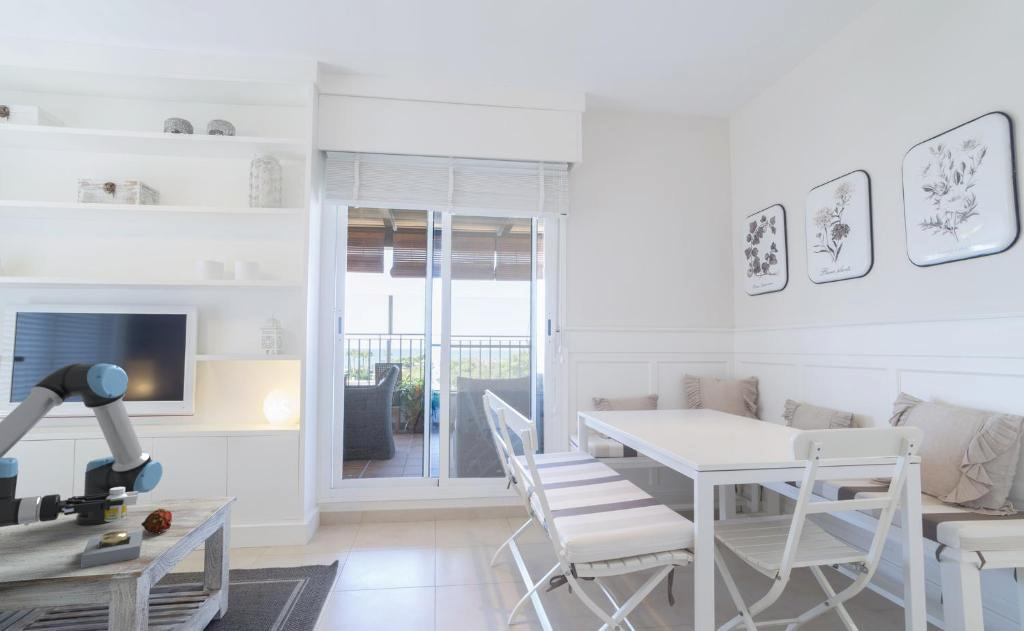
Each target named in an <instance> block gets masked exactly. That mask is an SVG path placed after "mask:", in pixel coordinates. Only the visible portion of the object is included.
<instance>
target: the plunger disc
mask: <svg viewBox="0 0 1024 631" xmlns="http://www.w3.org/2000/svg"><path fill="white" fill-rule="evenodd" d="M127 533H128V531H125V530H118V531H117V530H116V531H111V532H108V533H105V534H103V535H102V536H101V537H102V541H101V545H102V546H114V545H119V544H122V543H124V542H126V541H127Z"/></svg>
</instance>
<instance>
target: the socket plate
mask: <svg viewBox="0 0 1024 631" xmlns="http://www.w3.org/2000/svg"><path fill="white" fill-rule="evenodd" d="M143 533H144V532H143V530H141V531H132V532H127V541H126V542H124V543H122V544H119V545H114V546H102V545H101V541H102V536H99V537H93V538H89V539H88V541H87V543H86V545H85V548H84V549H83V551H82V554H81V559H80V560H81V561H80V569H81V568H82V567H83V568H87V567H93V566H98V565H99V566H100V565H103V564H104V565H105V564H111V563H116V562H121V561H129V560H134V559H140V556H141V548H142V545H143V544H142V543H143ZM83 568H82V569H83Z"/></svg>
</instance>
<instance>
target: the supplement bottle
mask: <svg viewBox="0 0 1024 631" xmlns="http://www.w3.org/2000/svg"><path fill="white" fill-rule="evenodd" d="M124 493H125V487H115V488H111V489H110V491H109V494H110V495H109V496H108V497H107V498H106V500H107V499H110V501H111V498H118V497H126V496H127V495H126V494H124ZM126 508H127V506H120V507H111V508H110V510H109V511H106V510H105V521H107V523H112V522H117V521H118V522H119V521H122V520H124V519H125V518H126V517H127V515H126Z"/></svg>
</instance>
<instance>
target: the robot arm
mask: <svg viewBox="0 0 1024 631" xmlns="http://www.w3.org/2000/svg"><path fill="white" fill-rule="evenodd" d="M128 384H129V377H128V375H127V373H126V372H125V370H124V369H123V368H122V367H120V366H118V365H115V364H109V363H70V364H67V365H64V366H62V367H59V368H57V369H56V370H54V371H52V372H51V373H49V374H48V375H47V376H45V377H44V378H43V379H41V380H40V381H39V382H37V383H36V384H35V385H34V386H33V387H32V388H30V394H29V395H28V396H27V397H26V398H25V399H24V400H23V401H21V403H20V404H18V406H16V407H15V408H14V409H12V411H10V413H9V414H8V415H7V416H6V417H4V418H3V419H2V420H1V421H0V528H2V527H10V526H19V525H24V526H25V527H26V526H29V525H30V524H34V523H38V521H40V522H41V523H44V522H50V521H51V522H52V521H56V520H57V519H58V517H59V514H64V515H63V516H69V515H70V516H71V515H74V514H77V515H76V518H75V520H76V521H75V523H76V524H77V525H80V524H82V526H87V525H88V526H91V525H100V524H107V523H108V522H107V521H105V510H106V511H109V510H110V508H111V507H120V506H135V505H137V501H138V499H139V498H138V496H139V494H141V493H142V494H143V493H144V494H145V493H149V492H151V491H152V490H153V489H155V488H156V487H157V485H158V484H159V482H160V481H161V478H162V477H163V471H164V470H163V466H162V463H161V462H159V461H157V460H154V461H153V459H152V458H151V456H150V455H151V454H150V453H149V452H148V451H146V450H143V449H142V446H141V444H140V441H139V439H138V436H137V435H136V431H135V429H134V427H133V424H132V421H131V418H130V416H129V414H128V411H127V409H126V407H125V404H124V401H123V398H124V397H125V395H126V391H127V388H128ZM73 397H74V398H77V397H78V398H81V400H82V402H83V403H84V406H85V407H86V408H88V409H92V410H93V413H94V415H95V417H96V420H97V422H98V425H99V428H100V430H101V431H102V434H103V436H104V438H105V441H106V443H107V446H108V448H109V451H110V453H111V455H112V456H108V457H102V458H97V459H93V460H90V461H88V462H87V464H86V469H85V472H84V473H85V474H84V488H83V489H84V490H83V491H84V495H80V496H78V495H77V496H72V497H68V498H67V499H65V500H64V499H63V500H61V495H60V494H56V493H55V494H49V495H48V494H46V495H44V496H43V497H42V496H41V495H37V496H28V497H19V498H16V492H17V483H18V475H19V460H18V458H15V457H4V456H5V455H6V454H8V452H10V450H11V449H12V448H13V447H15V446H16V445H17V443H18V442H20V441H21V439H23V438H24V437H25V436H26V435H27V434H28V433H29V432H30V431H31V430H32V429H33V428H34V427H35V426H36V425H37V424H38V423H39V422H40V421H41V420H42V419H43V418H44V417H45V416H46V415H47V414H48V413H49V412H50V411H52V409H53V408H54V407H59V406H61V405H62V404H63V403H64V402H65V401H67V400H68V399H70V398H73ZM115 487H125V492H124V494H126V495H127V496H126V497H118V498H111V501H110V499H107V500H106V498H107V497H108V496H109V495H110V494H109V491H110V489H111V488H115ZM127 515H128V509H127V508H126V516H127Z"/></svg>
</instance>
